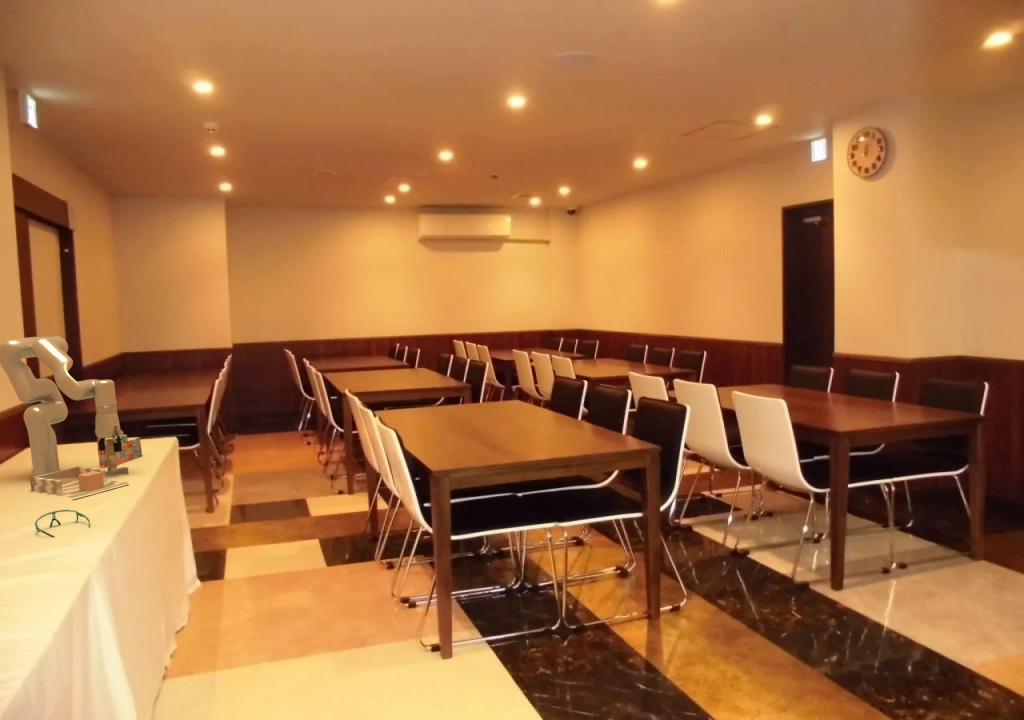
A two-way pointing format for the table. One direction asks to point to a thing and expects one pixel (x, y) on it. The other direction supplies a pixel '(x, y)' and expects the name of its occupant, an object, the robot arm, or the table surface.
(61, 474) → the cubby
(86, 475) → the block
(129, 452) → the stack of blocks
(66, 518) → the table surface
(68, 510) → the sunglasses
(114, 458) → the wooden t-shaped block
